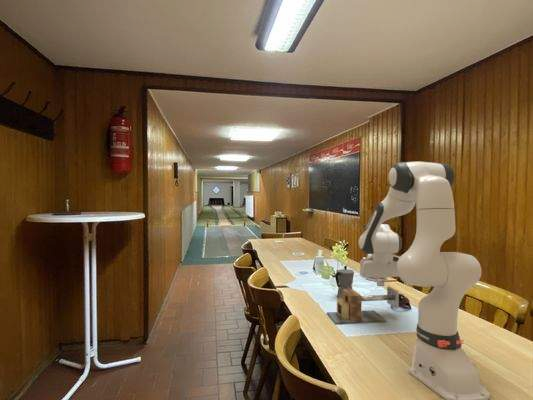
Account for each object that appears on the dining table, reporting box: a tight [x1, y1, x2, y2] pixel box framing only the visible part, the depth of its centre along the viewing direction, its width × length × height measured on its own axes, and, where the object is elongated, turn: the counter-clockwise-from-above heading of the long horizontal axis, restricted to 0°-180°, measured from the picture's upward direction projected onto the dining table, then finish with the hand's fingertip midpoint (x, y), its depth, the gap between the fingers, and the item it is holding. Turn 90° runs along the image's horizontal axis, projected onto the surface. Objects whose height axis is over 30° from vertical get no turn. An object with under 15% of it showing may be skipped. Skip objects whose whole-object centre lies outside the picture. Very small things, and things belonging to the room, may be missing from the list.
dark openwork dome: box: [390, 293, 412, 310], centre depth 157 cm, size 12×10×8 cm
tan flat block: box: [336, 297, 349, 320], centre depth 142 cm, size 3×7×7 cm, turn 7°
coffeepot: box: [334, 265, 355, 299], centre depth 171 cm, size 15×9×18 cm, turn 129°
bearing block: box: [326, 288, 387, 325], centre depth 143 cm, size 24×12×12 cm, turn 97°
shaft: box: [361, 286, 400, 310], centre depth 144 cm, size 20×8×8 cm, turn 97°
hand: (380, 286), depth 147 cm, fingers closed
